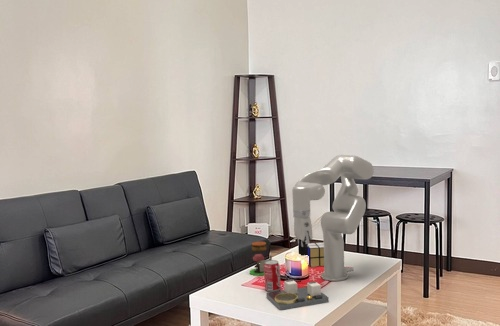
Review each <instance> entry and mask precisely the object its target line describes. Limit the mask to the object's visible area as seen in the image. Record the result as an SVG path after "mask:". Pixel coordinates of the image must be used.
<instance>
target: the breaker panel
mask: <svg viewBox="0 0 500 326" xmlns="http://www.w3.org/2000/svg"><path fill="white" fill-rule="evenodd" d="M297 291H298V293H295V294H296V295H297V296H298V299H297V302H295V303H291V304H281V303H277V302H276V301H275V296H276V295H278V294H281V293H287V292H285V289H284V290H279V291H276V292H266V294H265V296H266V299H267V300H268V301H269V302H271V304H273V305H274V306H275V307H276V308H277V309H278V310H279V311H284V310H290V309H296V308H302V307H307V306H313V305H319V304H325V303H329V301H330V299H329V296H327V295H326V294H324V293H323V291H321V295H316V296H311V295H310V294H308V293H307V286H304V287H297ZM277 299H279V300H283V301H289V300H293V299H295V297H291V296H283V297H279V298H277Z"/></svg>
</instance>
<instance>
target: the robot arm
mask: <svg viewBox="0 0 500 326" xmlns="http://www.w3.org/2000/svg"><path fill="white" fill-rule="evenodd" d="M374 173H375V169H374V165H373V164H372V163H371V162H370V161H368V160H366V159H364V158H362V157H359V156H357V155H354V154H353V155H348V154H347V155H346V154H345V155H344V154H339V155H335V156H334V157H333V158H332V159H331V160H329V162H327V164H325V166H323V167H322V168H319V169H316V170H314V171H313V172H310V173H309V172H308V173H307V174H305V175H303V176H302V177H301V178H300V179H298V181H297V182H296V183H295V185H294V186H293V187H292V193H291V194H292V213H293V218H294V219H293V220H294V221H293V230H294V231H293V232H294V237H295V238H296V240H297V246H298V255H300V256H301V257H302V256H303V257H304V256H306V255H308V244H309V243H311V242H310V240H311V241H312V240H313V229H312V228H313V227H312V221H311V201H319V200H321V199H323V197H324V196H325V194H326V190H325V187H324V186H327V185H332V184H334V183H335V182H336V181H337V180H338V179H339V178H340V179H341V186H340V189H339V190H338V193H337V194H336V196H335V198H334V200H333V202H332V210H333V211H326V212H324V213H323V214H322V215H321V217H320V227H321V231H322V235H323V236H322V237H323V242H324V266H323V272H322V273H321V275H320V277H321V279H322V280H325V281H328V280H329V282H330V281H331V282H340V281H345V280H347V279H348V278H349V274H348V273H352V272H354V271H355V268H354V267H349V266H345V242H344V237H343V235H353V234H354V233H355V232H356V231H357V229H358V227H359V226H360V225H359V224H360V223H361V222H362V219H363V217H364V215H365V212H366V208H367V204H366V200H365V199H364V198H363V197H362V196H359V195H358V192H359V188H358V185H357V184H356V181H355V180H370V179H371V178H372V177H373V175H374ZM342 234H343V235H342Z"/></svg>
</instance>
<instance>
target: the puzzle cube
mask: <svg viewBox="0 0 500 326" xmlns="http://www.w3.org/2000/svg"><path fill="white" fill-rule="evenodd" d="M308 256H309V265H310V266H309V265H308V266H309V267H310V268H318V267H317V266H319V267H320V266H321V267H324V241H323V242H310V243H309V244H308Z"/></svg>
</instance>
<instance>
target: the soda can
mask: <svg viewBox="0 0 500 326" xmlns="http://www.w3.org/2000/svg"><path fill="white" fill-rule="evenodd" d="M280 268H281V267H280V264H279V261H278V260H276V259H272V260H268V261H265V264H264V275H263V276H264V288H265V291H266V292H267V293H270V292H277V291H281V288H282V286H281V270H280Z"/></svg>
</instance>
